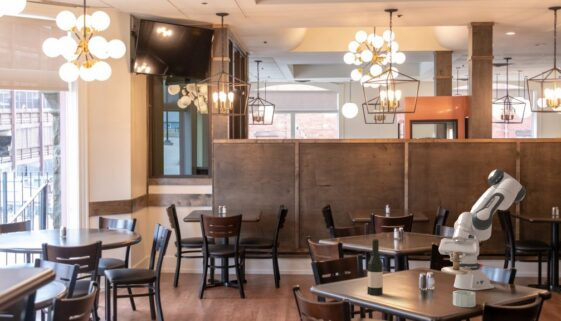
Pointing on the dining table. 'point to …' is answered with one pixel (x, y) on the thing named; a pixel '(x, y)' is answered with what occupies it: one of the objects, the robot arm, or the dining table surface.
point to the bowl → (464, 298)
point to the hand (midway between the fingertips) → (456, 261)
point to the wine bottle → (375, 271)
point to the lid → (456, 266)
